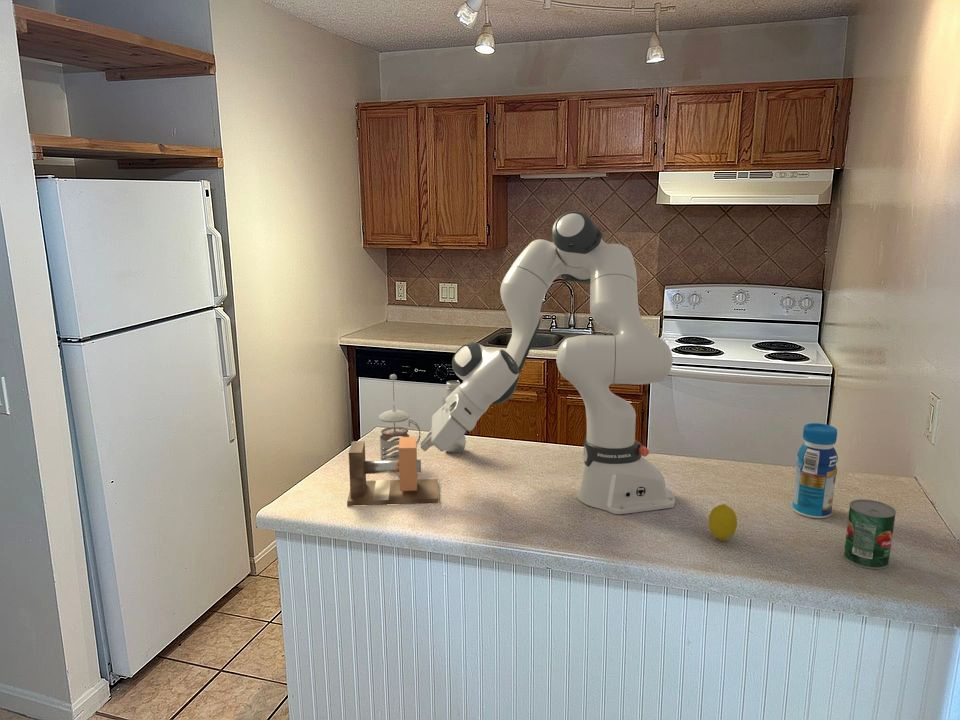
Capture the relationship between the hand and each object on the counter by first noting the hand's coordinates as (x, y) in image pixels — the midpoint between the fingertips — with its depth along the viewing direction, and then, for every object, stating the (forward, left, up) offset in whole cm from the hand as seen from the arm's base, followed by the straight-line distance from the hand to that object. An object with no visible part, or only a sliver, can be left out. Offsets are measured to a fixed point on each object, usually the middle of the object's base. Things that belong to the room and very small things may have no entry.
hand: (422, 447), depth 170 cm
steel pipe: (+8, +1, -6) cm, 10 cm away
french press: (+6, -18, -12) cm, 23 cm away
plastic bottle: (-9, -28, -12) cm, 32 cm away
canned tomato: (-87, +40, -12) cm, 96 cm away
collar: (+3, +1, -9) cm, 9 cm away
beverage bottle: (-88, +18, -12) cm, 90 cm away
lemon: (-62, +30, -12) cm, 69 cm away
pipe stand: (+7, +1, -11) cm, 13 cm away
